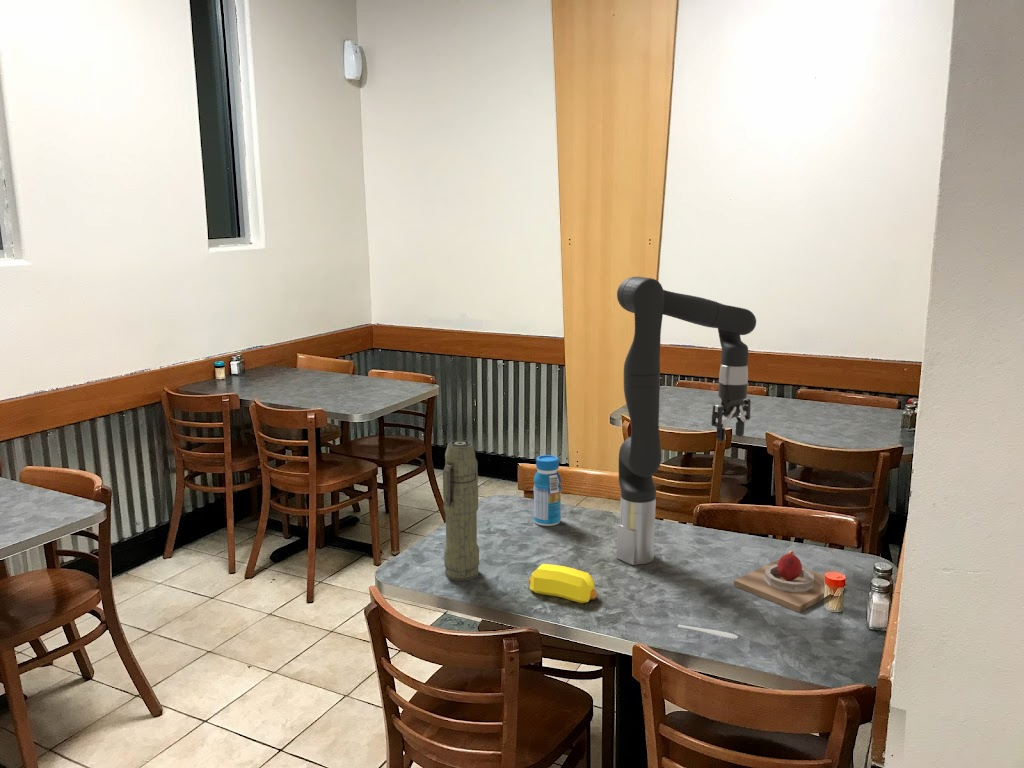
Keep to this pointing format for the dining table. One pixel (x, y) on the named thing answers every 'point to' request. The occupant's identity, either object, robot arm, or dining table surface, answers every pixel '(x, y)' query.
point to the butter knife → (711, 632)
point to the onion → (789, 566)
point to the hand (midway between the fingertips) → (730, 438)
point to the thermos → (461, 511)
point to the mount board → (779, 595)
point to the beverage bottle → (547, 491)
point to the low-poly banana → (563, 583)
